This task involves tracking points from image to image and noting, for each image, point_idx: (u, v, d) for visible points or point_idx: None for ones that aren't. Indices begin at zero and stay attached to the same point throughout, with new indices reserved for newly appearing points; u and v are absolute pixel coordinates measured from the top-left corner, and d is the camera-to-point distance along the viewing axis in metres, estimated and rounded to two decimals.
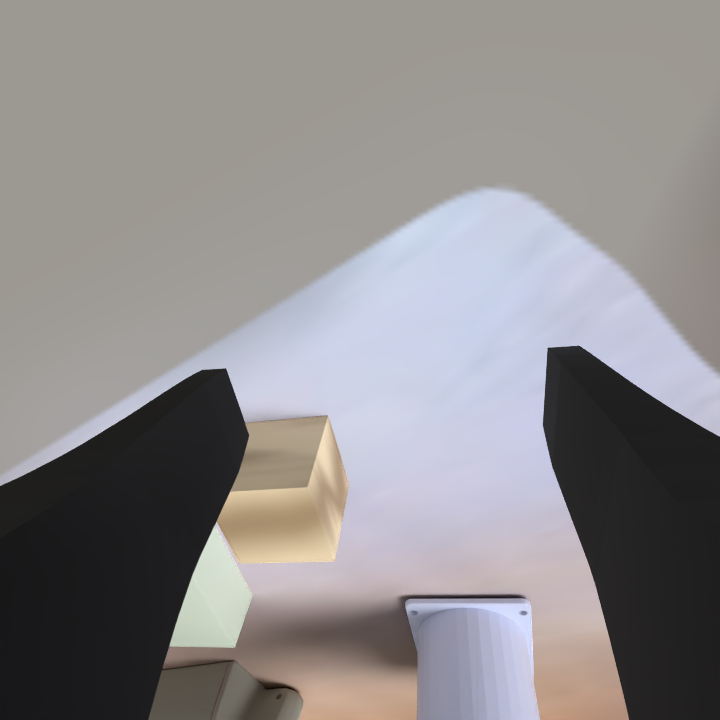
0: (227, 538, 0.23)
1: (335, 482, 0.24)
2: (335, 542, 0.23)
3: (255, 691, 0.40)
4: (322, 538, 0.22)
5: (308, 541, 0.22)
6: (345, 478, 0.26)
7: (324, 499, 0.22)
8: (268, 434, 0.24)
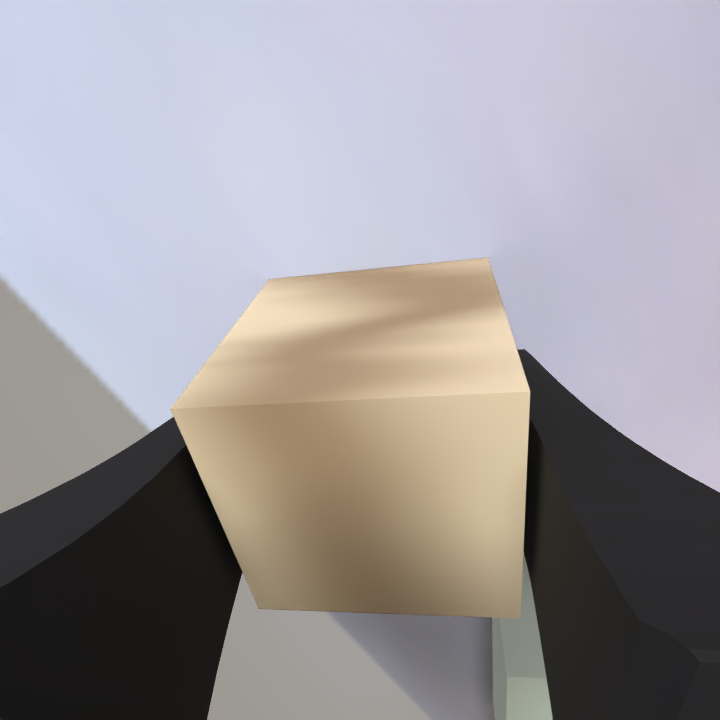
0: (413, 611, 0.09)
1: (387, 301, 0.09)
2: (491, 361, 0.07)
3: None
4: (399, 409, 0.06)
5: (418, 448, 0.07)
6: (452, 266, 0.10)
7: (328, 355, 0.07)
8: None
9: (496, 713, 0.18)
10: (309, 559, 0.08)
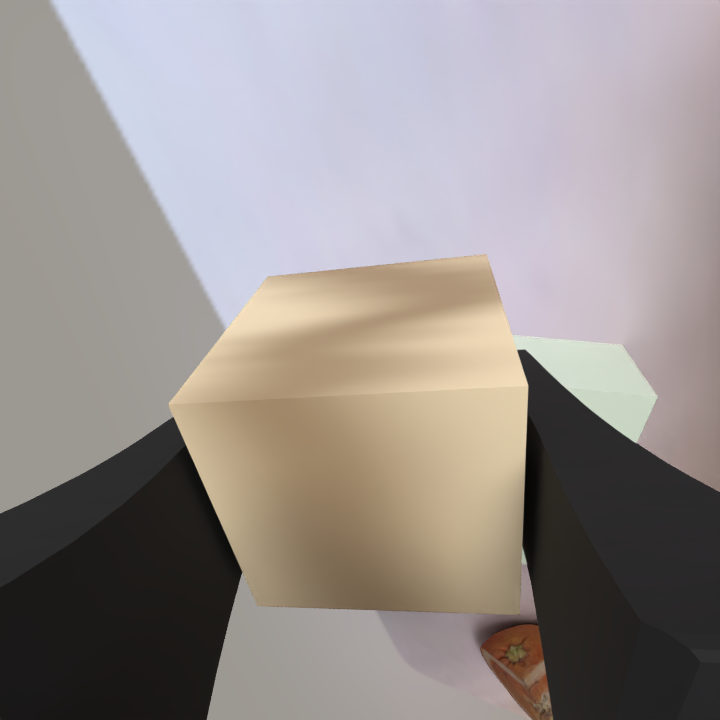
0: (412, 608, 0.09)
1: (386, 297, 0.09)
2: (490, 356, 0.07)
3: None
4: (396, 403, 0.06)
5: (417, 444, 0.07)
6: (451, 263, 0.10)
7: (326, 351, 0.07)
8: None
9: None
10: (308, 556, 0.08)
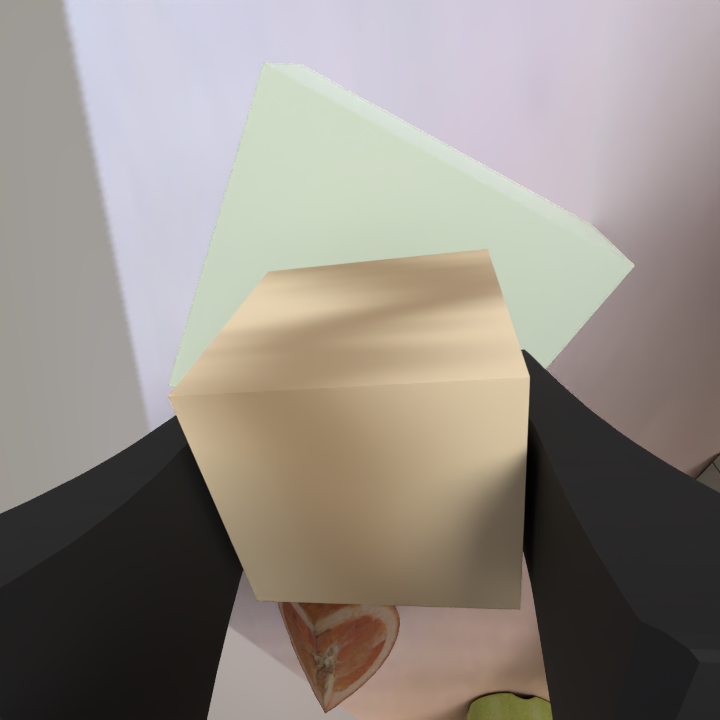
0: (413, 603, 0.09)
1: (386, 291, 0.09)
2: (491, 348, 0.07)
3: None
4: (398, 395, 0.06)
5: (418, 436, 0.07)
6: (451, 257, 0.10)
7: (326, 344, 0.07)
8: None
9: None
10: (308, 550, 0.08)
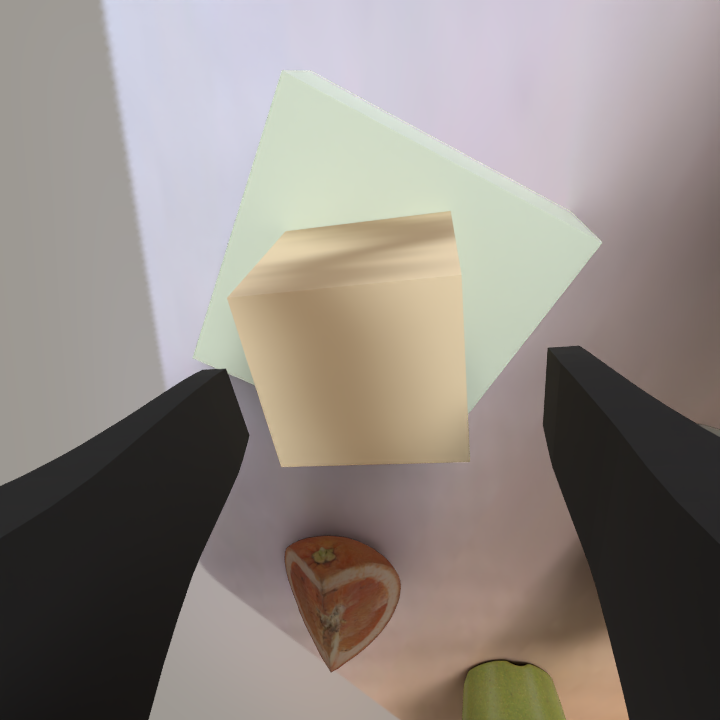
0: (394, 461, 0.12)
1: (374, 238, 0.12)
2: (441, 263, 0.10)
3: None
4: (378, 291, 0.10)
5: (393, 321, 0.10)
6: (423, 217, 0.13)
7: (331, 267, 0.11)
8: None
9: None
10: (319, 418, 0.12)
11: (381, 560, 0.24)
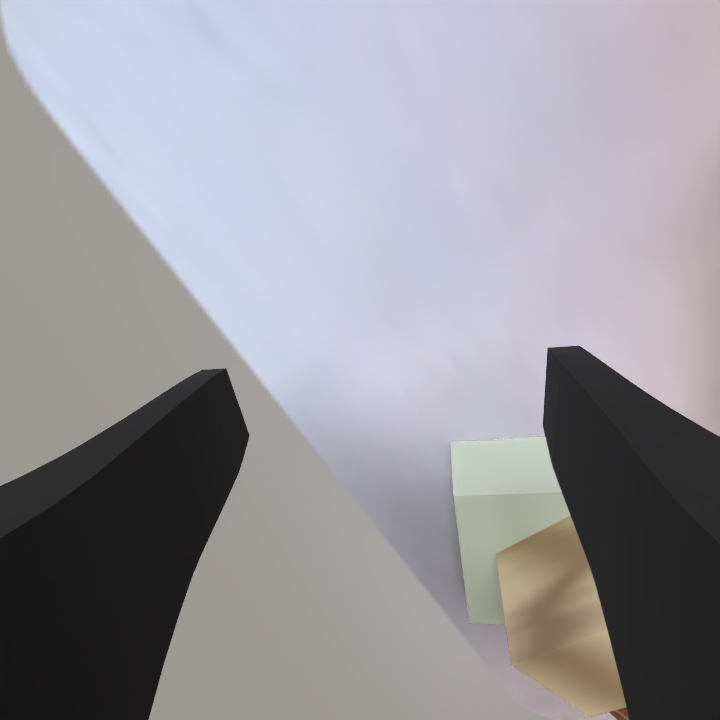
0: None
1: (556, 563, 0.20)
2: None
3: None
4: (589, 639, 0.17)
5: (606, 646, 0.17)
6: None
7: (550, 615, 0.18)
8: None
9: None
10: (596, 692, 0.19)
11: None
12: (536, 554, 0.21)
